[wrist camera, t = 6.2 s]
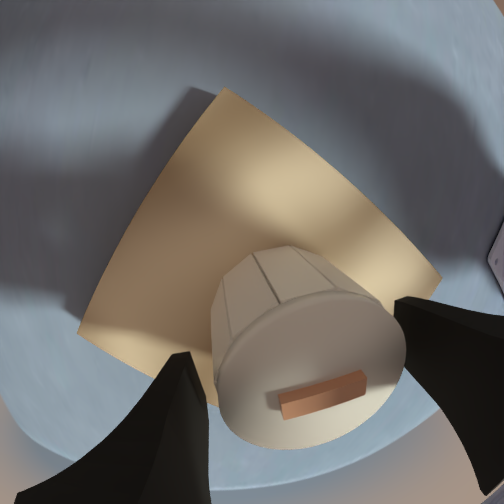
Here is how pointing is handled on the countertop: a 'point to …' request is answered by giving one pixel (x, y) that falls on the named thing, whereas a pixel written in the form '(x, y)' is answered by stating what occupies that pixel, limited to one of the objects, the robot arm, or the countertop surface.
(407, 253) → the post board
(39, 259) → the countertop surface
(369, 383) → the cream short cylinder
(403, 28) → the countertop surface
